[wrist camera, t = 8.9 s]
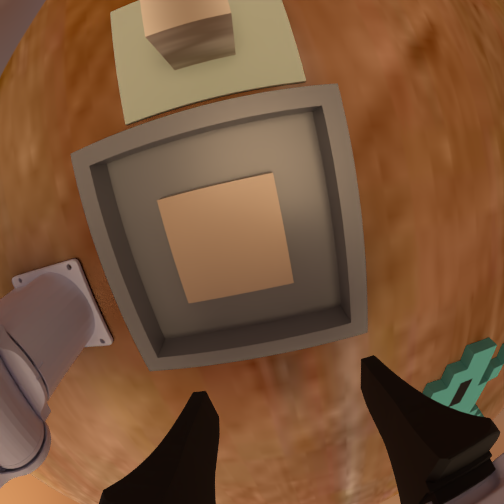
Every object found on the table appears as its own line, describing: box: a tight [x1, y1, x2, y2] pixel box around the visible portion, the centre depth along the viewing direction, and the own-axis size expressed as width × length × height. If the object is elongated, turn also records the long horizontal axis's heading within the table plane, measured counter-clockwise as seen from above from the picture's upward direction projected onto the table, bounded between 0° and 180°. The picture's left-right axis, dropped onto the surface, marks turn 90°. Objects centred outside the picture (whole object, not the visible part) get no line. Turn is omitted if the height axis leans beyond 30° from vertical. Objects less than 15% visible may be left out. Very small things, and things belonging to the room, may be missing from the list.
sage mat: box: [110, 0, 306, 125], centre depth 14 cm, size 12×10×1 cm
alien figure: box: [423, 338, 504, 417], centre depth 26 cm, size 20×2×20 cm
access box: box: [71, 84, 368, 371], centre depth 17 cm, size 16×16×3 cm
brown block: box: [140, 0, 236, 70], centre depth 11 cm, size 4×4×6 cm
